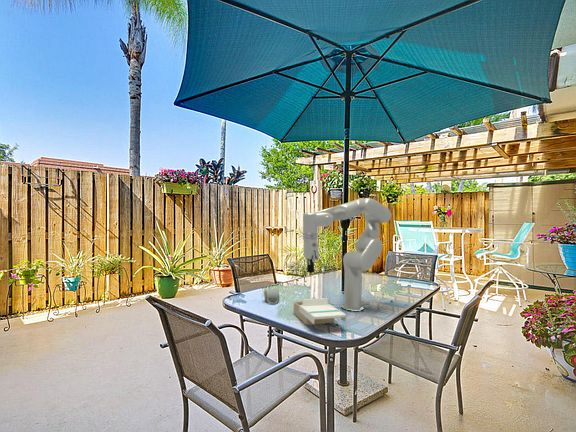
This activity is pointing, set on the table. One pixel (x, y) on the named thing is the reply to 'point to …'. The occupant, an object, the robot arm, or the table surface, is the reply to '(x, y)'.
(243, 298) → the table surface
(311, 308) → the lid
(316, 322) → the mailer box
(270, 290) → the ceramic mug
